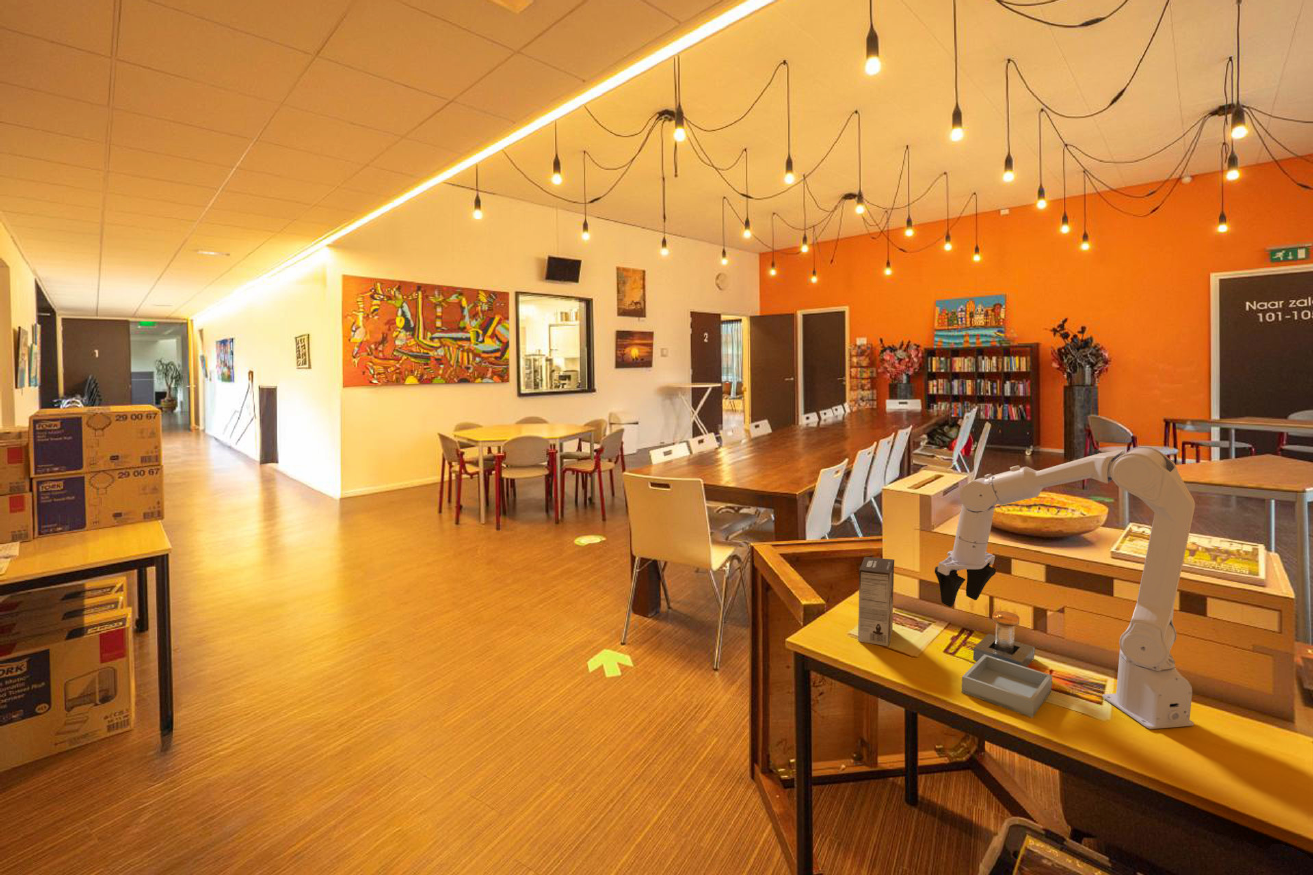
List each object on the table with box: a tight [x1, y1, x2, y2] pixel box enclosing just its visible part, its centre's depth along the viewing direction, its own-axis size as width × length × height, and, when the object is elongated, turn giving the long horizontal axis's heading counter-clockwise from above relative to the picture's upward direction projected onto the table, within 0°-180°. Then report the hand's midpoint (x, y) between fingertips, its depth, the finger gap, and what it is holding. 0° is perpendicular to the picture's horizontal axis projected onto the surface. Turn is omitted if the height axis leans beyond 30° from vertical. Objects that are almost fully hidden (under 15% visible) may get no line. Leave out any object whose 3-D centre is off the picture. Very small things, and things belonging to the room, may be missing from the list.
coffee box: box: [857, 556, 895, 647], centre depth 131 cm, size 9×6×16 cm
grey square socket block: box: [972, 633, 1036, 668], centre depth 120 cm, size 8×8×2 cm
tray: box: [961, 654, 1053, 719], centre depth 109 cm, size 11×11×3 cm
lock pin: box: [991, 610, 1020, 655], centre depth 120 cm, size 5×5×9 cm
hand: (959, 601), depth 123 cm, fingers open, 7 cm apart
